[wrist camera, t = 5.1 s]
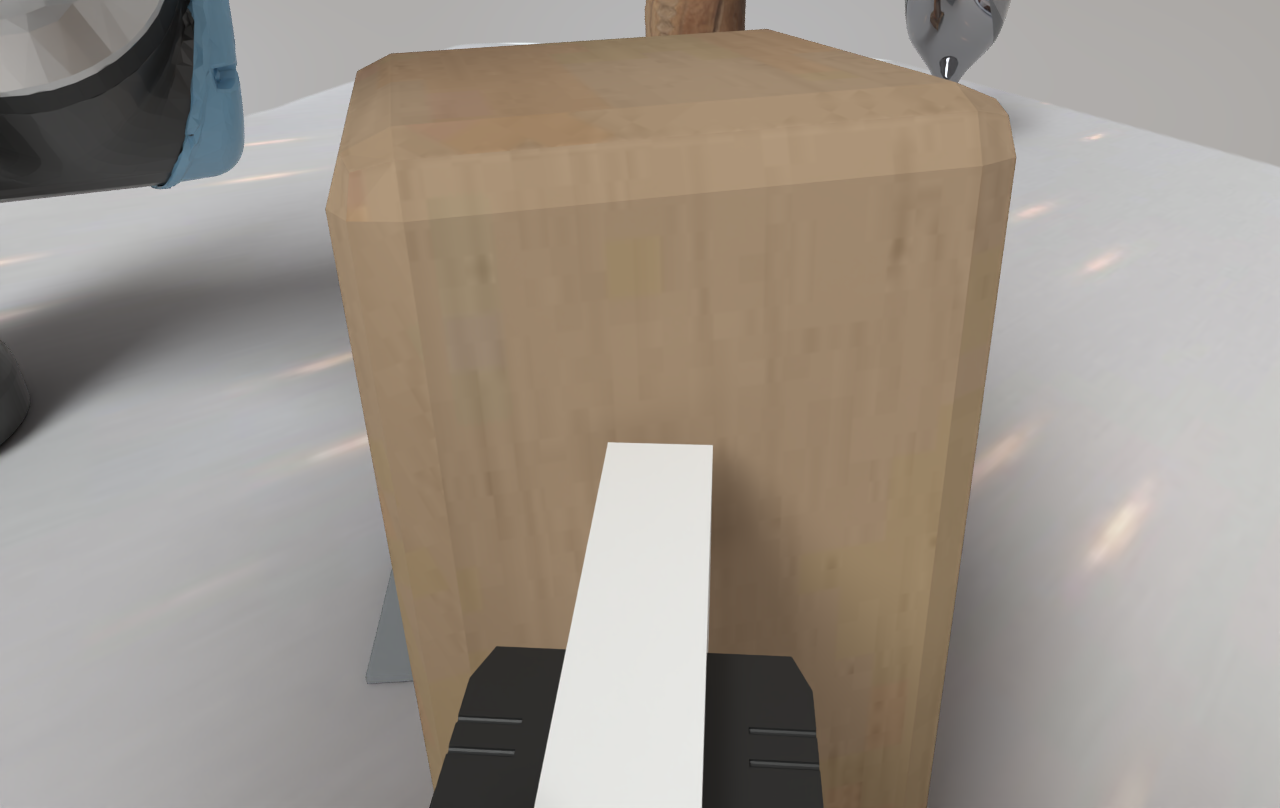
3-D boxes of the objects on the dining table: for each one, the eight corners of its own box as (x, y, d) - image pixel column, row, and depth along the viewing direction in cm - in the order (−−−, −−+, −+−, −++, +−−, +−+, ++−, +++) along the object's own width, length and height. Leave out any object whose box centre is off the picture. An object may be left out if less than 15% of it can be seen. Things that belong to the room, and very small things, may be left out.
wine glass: (935, 178, 76) (962, -30, 68) (867, 154, 82) (885, -40, 74) (1007, 162, 79) (1041, -39, 72) (936, 140, 85) (961, -47, 78)
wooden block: (771, 687, 31) (793, 22, 22) (920, 985, 22) (1057, 86, 13) (457, 749, 29) (341, 50, 20) (486, 1100, 21) (305, 148, 12)
